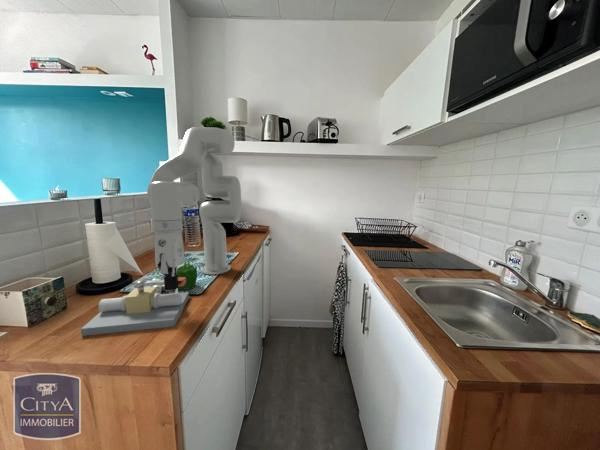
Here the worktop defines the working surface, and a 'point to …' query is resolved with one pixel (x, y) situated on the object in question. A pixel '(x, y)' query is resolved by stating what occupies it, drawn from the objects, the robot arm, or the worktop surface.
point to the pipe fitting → (159, 287)
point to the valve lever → (155, 283)
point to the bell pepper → (187, 276)
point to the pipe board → (137, 312)
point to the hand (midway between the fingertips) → (171, 288)
